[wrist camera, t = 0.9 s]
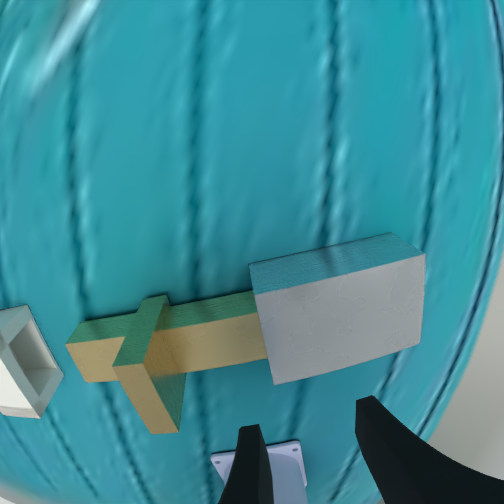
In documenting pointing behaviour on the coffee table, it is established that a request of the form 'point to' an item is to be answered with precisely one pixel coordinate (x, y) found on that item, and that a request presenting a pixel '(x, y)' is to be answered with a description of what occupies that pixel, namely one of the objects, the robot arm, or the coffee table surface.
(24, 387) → the socket
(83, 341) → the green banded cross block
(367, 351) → the sleeve
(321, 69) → the coffee table surface
